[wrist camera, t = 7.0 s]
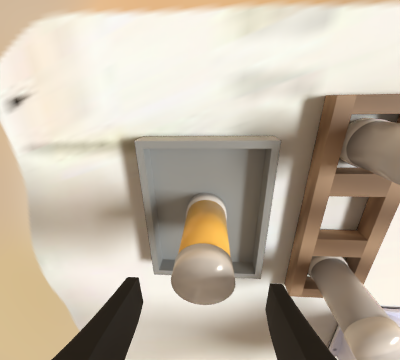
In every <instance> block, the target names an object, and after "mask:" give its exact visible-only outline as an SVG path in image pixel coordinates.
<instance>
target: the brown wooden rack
mask: <svg viewBox="0 0 400 360" xmlns="http://www.w3.org/2000/svg"><path fill="white" fill-rule="evenodd" d="M351 114H399V117H398V120H397V122H396V123H400V94H371V95H326V97H325V102H324V106H323V111H322V115H321V120H320V124H319V129H318V133H317V138H316V143H315V147H314V152H313V156H312V161H311V165H310V170H309V175H308V179H307V184H306V188H305V193H304V197H303V202H302V207H301V211H300V216H299V220H298V225H297V229H296V234H295V239H294V243H293V248H292V252H291V257H290V261H289V266H288V271H287V275H286V280H285V286H286V289H287V291H288V294H289V295H290V296H297V297H318V298H323V296H322V294H321V292H320V291H319V289H318V287H317V285H316V283H315V282H314V280H313V279H312V278H311V277H307V274H308V270H309V267H310V263H311V259H312V256H330V257H347V258H346V263H347V264H348V267H349V268H350V269H351V270H352V272H353V273H354V274H355V275H356V277H357V278H358V279H359V280H360V282H361V283H362V284H364V282H365V280H366V278H367V275H368V273H369V271H370V269H371V266H372V264H373V262H374V260H375V257H376V255H377V253H378V250H379V248H380V246H381V244H382V241H383V239H384V237H385V235H386V232H387V230H388V228H389V226H390V223H391V221H392V219H393V217H394V214H395V212H396V210H397V208H398V205H399V203H400V185H398V184H396V183H394V182H392V181H390V180H387V179H385V178H383V177H381V176H379V175H376V174H374V173H372V172H370V171H368V170H365V169H363V168H337V165H338V161H339V158H340V154H341V151H342V147H343V143H344V140H345V136H346V132H347V129H348V125H349V122H350V118H351ZM329 196H352V197H369V198H368V201H367V204H366V207H365V209H364V212H363V215H362V218H361V220H360V223H359V226H358V228H357V230H320V227H321V223H322V219H323V216H324V212H325V209H326V205H327V201H328V198H329Z"/></svg>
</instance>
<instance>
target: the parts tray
mask: <svg viewBox="0 0 400 360" xmlns="http://www.w3.org/2000/svg"><path fill="white" fill-rule="evenodd" d="M280 145H281V140H279V139H278V138H276V137H274V136H143V137H141V138H139V139H137V140H135V148H136V155H137V162H138V169H139V175H140V182H141V189H142V196H143V203H144V209H145V216H146V223H147V230H148V237H149V243H150V250H151V257H152V264H153V271H154V274H158V275H172V272H173V268H174V263H175V259H176V257H177V255H178V253H179V248H180V244H181V239H182V235H183V230H184V226H185V221H186V211H187V207H188V203H189V201H190V200H191V199H192V198H193V197H194V196H196V195H198V194H200V193H212V194H215V195H217V196H219V197H220V198H221V199H222V200H223V202H224V204H225V206H226V214H227V220H226V223H227V231H228V240H229V248H230V257H231V259H232V262H233V268H234V276H235V278H253V279H261V273H262V266H263V259H264V253H265V246H266V239H267V232H268V226H269V219H270V212H271V206H272V199H273V192H274V185H275V179H276V172H277V165H278V159H279V152H280Z"/></svg>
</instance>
